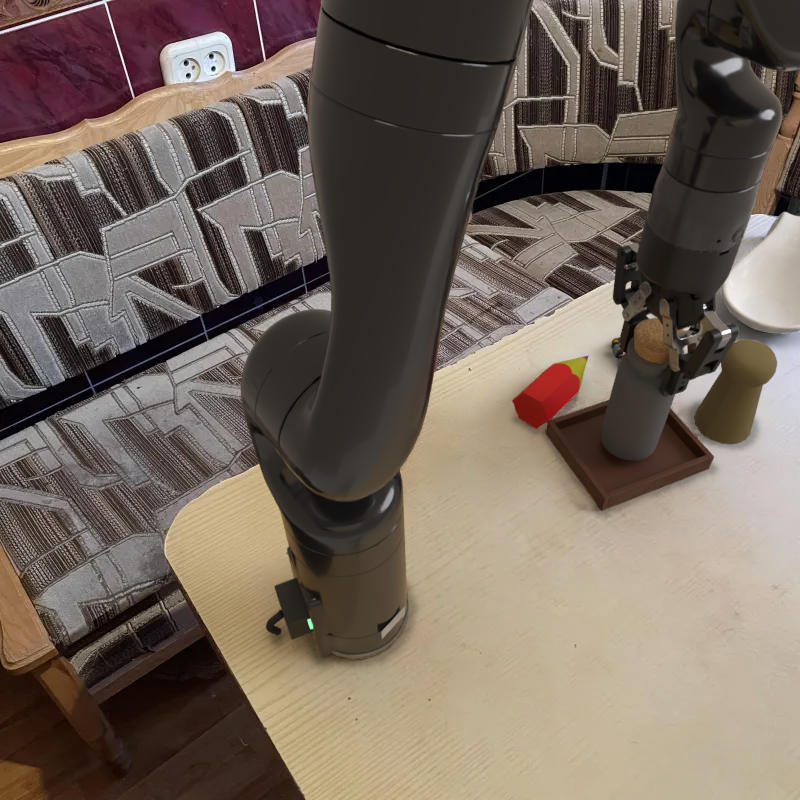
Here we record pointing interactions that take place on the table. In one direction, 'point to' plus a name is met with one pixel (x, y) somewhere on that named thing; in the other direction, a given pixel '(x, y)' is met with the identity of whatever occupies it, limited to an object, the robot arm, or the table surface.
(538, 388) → the pencil
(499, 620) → the table surface
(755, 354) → the pepper shaker
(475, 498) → the table surface
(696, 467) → the tray
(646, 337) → the bottle
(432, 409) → the table surface
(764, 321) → the spoon rest
